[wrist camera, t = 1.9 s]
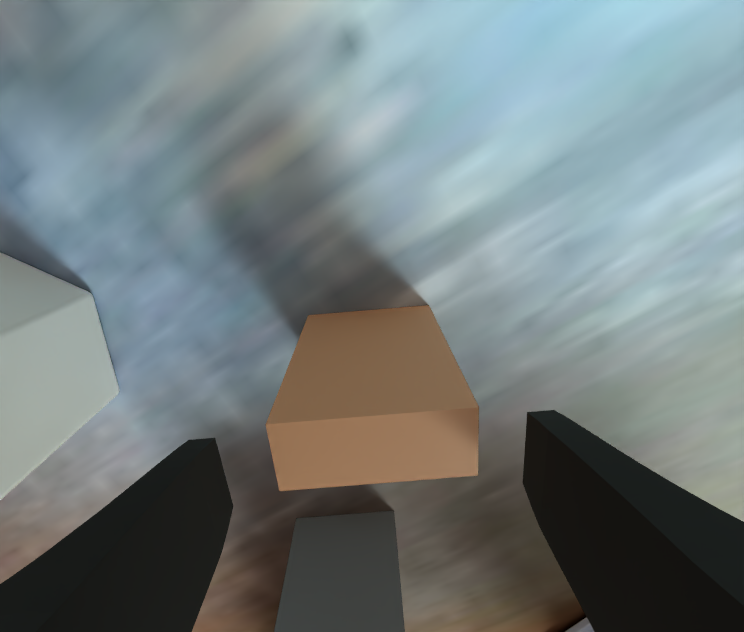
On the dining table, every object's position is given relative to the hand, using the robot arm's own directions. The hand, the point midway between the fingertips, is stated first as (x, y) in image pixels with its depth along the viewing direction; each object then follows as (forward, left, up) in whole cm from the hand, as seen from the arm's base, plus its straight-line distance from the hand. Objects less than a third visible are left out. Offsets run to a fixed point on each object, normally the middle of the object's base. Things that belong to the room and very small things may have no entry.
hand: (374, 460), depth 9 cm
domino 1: (0, 0, -8) cm, 8 cm away
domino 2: (-6, +9, -8) cm, 14 cm away
